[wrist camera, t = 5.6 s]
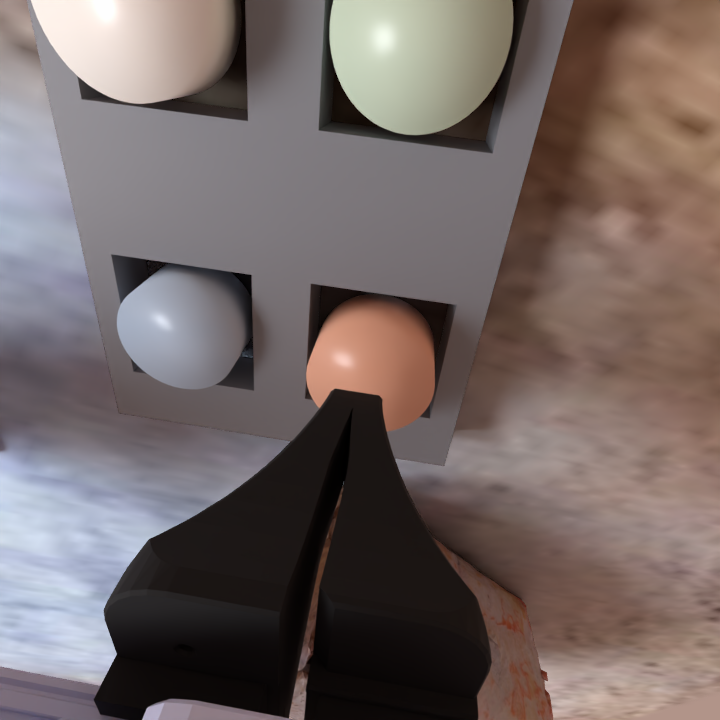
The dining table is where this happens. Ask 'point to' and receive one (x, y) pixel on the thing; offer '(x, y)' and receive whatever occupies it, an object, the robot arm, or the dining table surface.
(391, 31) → the sage button
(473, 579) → the food item
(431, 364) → the terracotta button
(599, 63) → the dining table surface
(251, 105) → the button panel
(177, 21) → the cream button
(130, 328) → the blue button
